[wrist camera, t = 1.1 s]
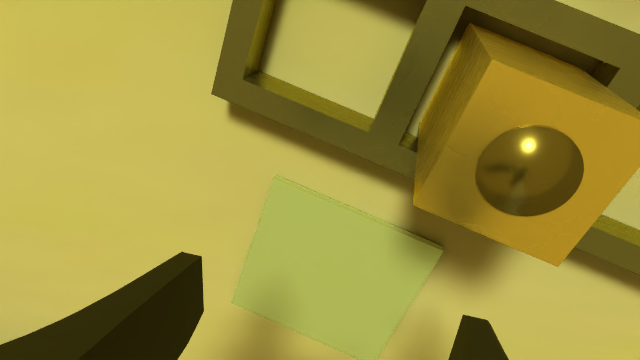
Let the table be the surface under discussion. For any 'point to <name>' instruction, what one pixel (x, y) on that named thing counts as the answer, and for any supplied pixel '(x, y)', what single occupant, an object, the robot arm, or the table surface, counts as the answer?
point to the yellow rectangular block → (522, 146)
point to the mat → (332, 270)
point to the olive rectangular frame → (411, 80)
